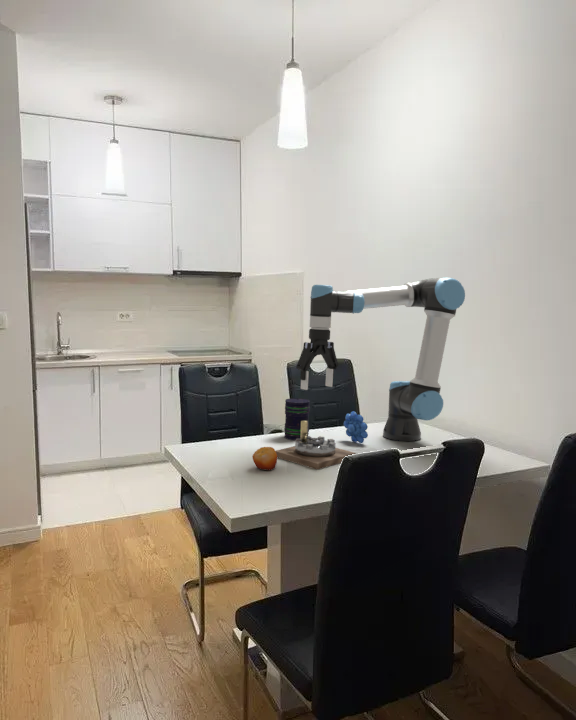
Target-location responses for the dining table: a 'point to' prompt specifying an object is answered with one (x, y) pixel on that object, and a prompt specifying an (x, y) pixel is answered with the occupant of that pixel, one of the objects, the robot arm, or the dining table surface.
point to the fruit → (265, 458)
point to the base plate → (313, 458)
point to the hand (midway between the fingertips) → (316, 387)
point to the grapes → (355, 427)
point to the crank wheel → (313, 444)
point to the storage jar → (295, 417)
